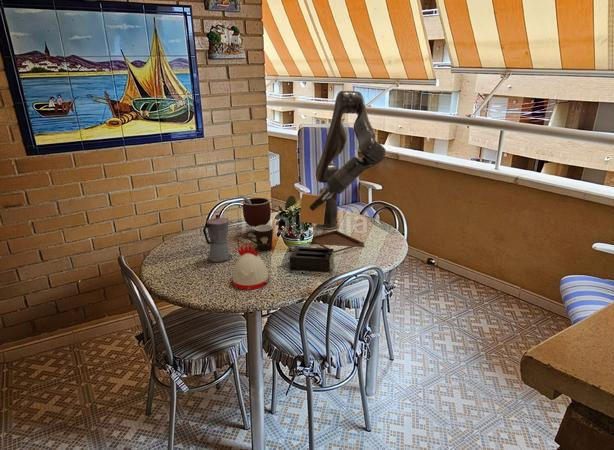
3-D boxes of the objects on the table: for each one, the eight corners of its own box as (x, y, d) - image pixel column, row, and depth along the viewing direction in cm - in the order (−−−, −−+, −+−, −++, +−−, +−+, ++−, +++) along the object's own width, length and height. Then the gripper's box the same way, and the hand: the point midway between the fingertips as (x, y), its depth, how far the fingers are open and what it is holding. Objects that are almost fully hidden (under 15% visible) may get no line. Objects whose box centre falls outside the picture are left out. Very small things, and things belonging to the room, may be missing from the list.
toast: (299, 221, 169) (301, 193, 164) (299, 220, 170) (302, 192, 166) (322, 225, 167) (326, 197, 163) (323, 224, 168) (326, 196, 164)
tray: (307, 241, 196) (307, 237, 195) (335, 233, 204) (335, 230, 204) (334, 255, 179) (334, 251, 178) (364, 246, 187) (364, 242, 187)
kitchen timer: (238, 272, 165) (235, 238, 160) (271, 273, 164) (269, 238, 159) (228, 288, 152) (224, 252, 147) (264, 290, 151) (262, 252, 146)
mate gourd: (275, 229, 213) (273, 192, 206) (267, 239, 200) (264, 199, 193) (247, 227, 216) (244, 191, 209) (237, 237, 203) (234, 198, 197)
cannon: (291, 227, 215) (290, 206, 211) (272, 224, 220) (271, 204, 217) (313, 214, 236) (312, 195, 232) (295, 211, 241) (294, 192, 237)
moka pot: (238, 254, 183) (234, 211, 177) (217, 267, 170) (213, 222, 163) (220, 251, 187) (216, 209, 180) (199, 264, 174) (194, 219, 167)
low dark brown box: (287, 272, 164) (286, 256, 162) (293, 261, 174) (293, 246, 172) (329, 275, 161) (329, 259, 158) (333, 264, 171) (333, 248, 168)
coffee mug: (277, 245, 191) (276, 225, 188) (269, 252, 184) (268, 232, 180) (254, 243, 195) (253, 223, 192) (246, 250, 187) (244, 229, 184)
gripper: (337, 169, 166) (308, 197, 172) (332, 176, 153) (301, 206, 160) (350, 182, 166) (320, 209, 173) (346, 191, 154) (314, 220, 160)
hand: (311, 208), depth 166 cm, fingers closed on toast, 1 cm apart
